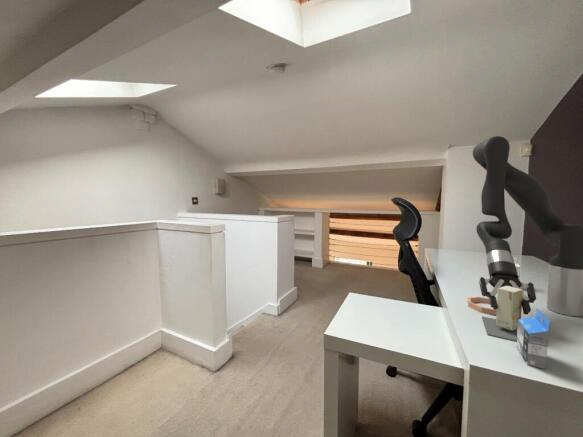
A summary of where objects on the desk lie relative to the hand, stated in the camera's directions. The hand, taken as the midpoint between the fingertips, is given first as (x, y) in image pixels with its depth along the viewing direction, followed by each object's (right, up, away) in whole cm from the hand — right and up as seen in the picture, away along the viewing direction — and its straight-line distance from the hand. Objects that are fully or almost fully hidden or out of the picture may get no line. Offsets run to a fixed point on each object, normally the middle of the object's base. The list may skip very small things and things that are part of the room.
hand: (510, 310), depth 75 cm
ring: (+8, -6, +18) cm, 21 cm away
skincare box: (+1, -6, +2) cm, 6 cm away
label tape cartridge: (-6, -8, -12) cm, 16 cm away
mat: (+1, -7, +2) cm, 7 cm away
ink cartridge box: (+36, -5, +42) cm, 55 cm away
